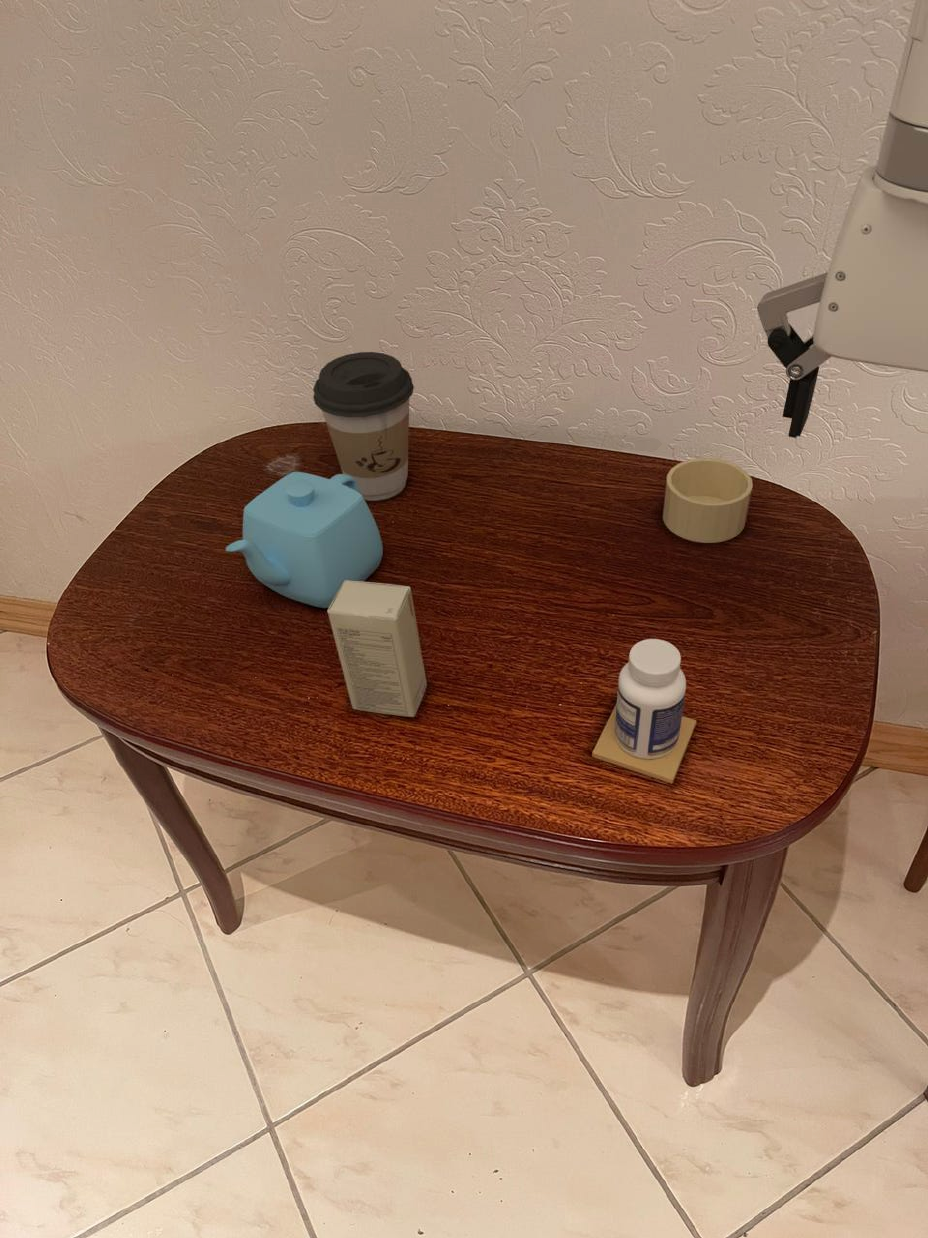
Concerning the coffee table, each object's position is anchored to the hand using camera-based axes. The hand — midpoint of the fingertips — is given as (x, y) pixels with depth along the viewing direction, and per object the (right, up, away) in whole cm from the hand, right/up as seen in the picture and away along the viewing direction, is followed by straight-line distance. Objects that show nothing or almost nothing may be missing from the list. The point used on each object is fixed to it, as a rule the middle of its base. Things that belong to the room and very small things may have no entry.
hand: (874, 441), depth 57 cm
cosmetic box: (-34, -19, +25) cm, 46 cm away
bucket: (0, 0, +42) cm, 42 cm away
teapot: (-43, -8, +37) cm, 58 cm away
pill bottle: (-11, -22, +19) cm, 31 cm away
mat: (-11, -22, +19) cm, 31 cm away
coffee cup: (-37, +5, +51) cm, 63 cm away
